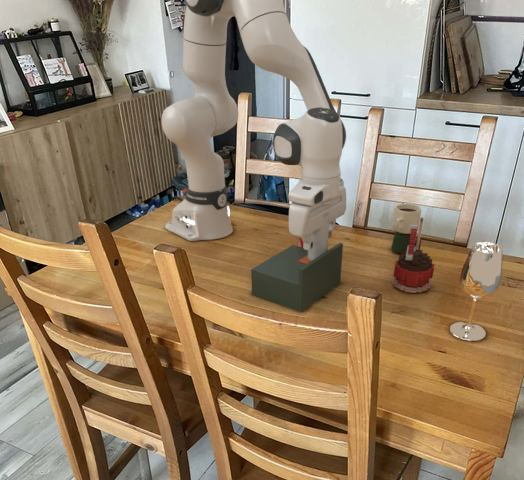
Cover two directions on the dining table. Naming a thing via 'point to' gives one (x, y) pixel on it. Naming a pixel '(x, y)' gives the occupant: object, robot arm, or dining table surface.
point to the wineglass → (478, 284)
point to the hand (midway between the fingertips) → (318, 242)
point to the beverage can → (320, 239)
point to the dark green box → (297, 277)
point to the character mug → (404, 225)
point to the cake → (413, 265)
